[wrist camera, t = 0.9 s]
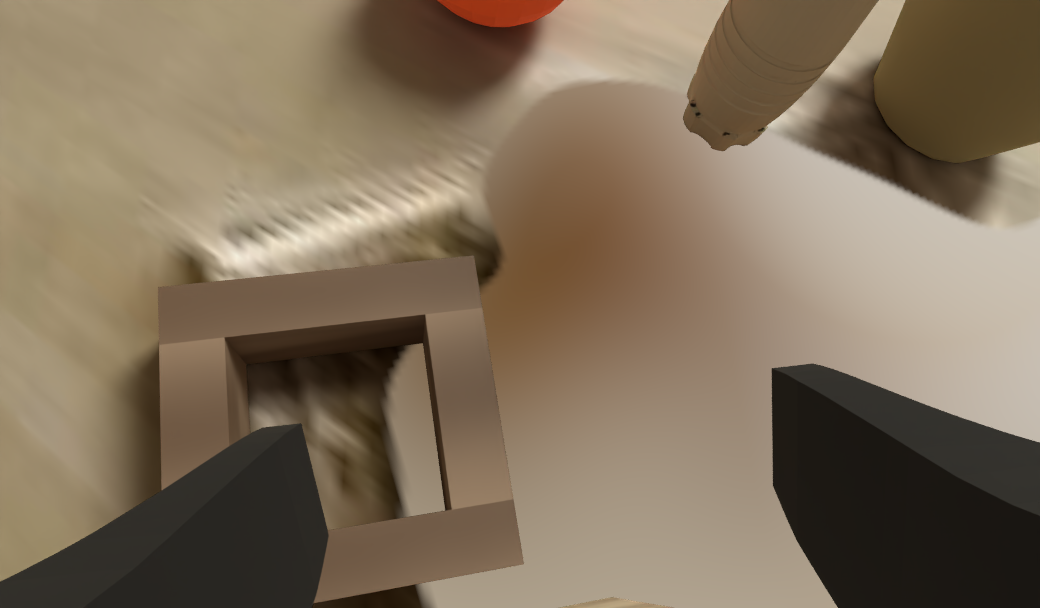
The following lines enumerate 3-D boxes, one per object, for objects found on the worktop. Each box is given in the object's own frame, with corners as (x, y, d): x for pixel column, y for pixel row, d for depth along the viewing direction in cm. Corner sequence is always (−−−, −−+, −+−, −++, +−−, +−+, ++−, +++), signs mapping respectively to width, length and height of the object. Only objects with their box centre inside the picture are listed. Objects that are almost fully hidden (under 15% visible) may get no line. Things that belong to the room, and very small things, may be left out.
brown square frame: (508, 563, 22) (523, 563, 19) (196, 621, 20) (164, 630, 18) (466, 289, 25) (473, 255, 22) (187, 320, 23) (157, 287, 20)
